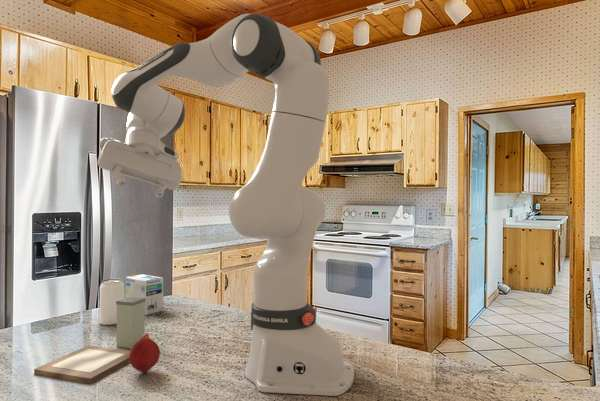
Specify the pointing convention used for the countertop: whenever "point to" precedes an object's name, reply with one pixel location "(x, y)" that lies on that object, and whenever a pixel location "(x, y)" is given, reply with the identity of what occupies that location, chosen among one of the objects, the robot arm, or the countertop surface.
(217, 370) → the countertop surface
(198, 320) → the countertop surface
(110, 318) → the can
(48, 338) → the countertop surface
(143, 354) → the onion
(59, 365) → the board
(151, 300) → the light bulb box
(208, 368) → the countertop surface
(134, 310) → the tea tin
